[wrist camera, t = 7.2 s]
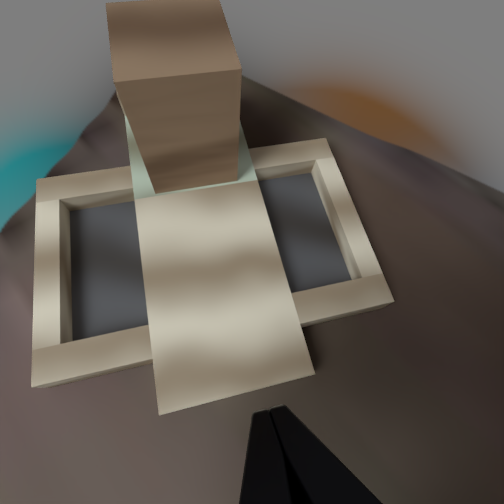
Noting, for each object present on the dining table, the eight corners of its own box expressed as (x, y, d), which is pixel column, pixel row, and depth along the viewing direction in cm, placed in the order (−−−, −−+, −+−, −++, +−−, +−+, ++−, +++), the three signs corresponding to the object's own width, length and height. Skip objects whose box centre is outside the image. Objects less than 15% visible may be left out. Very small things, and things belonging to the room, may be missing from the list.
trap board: (398, 351, 21) (433, 343, 18) (49, 443, 18) (4, 457, 14) (297, 101, 30) (307, 61, 27) (51, 131, 27) (23, 90, 23)
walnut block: (237, 180, 24) (241, 68, 15) (155, 193, 23) (113, 82, 14) (221, 121, 26) (217, -5, 18) (146, 130, 25) (105, 2, 17)
